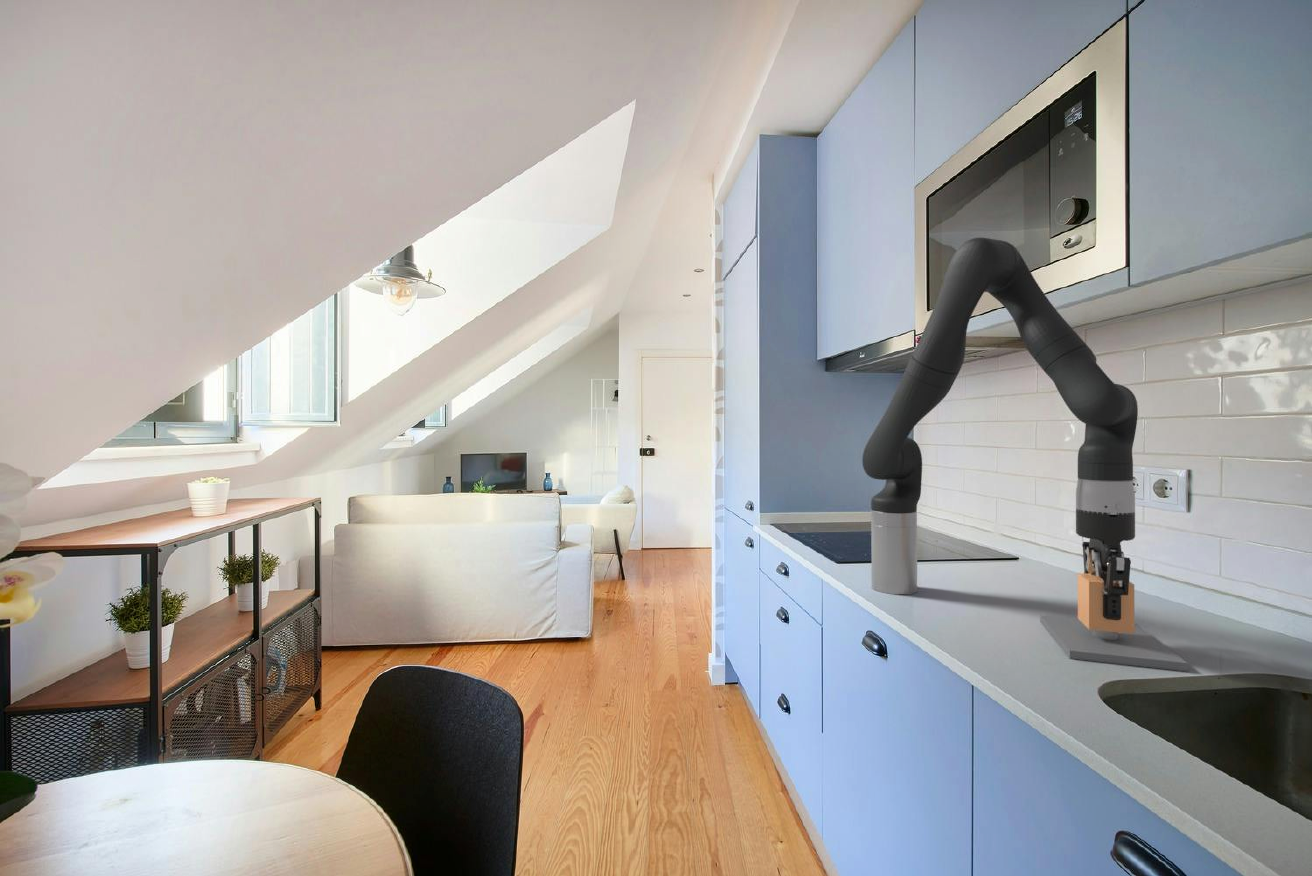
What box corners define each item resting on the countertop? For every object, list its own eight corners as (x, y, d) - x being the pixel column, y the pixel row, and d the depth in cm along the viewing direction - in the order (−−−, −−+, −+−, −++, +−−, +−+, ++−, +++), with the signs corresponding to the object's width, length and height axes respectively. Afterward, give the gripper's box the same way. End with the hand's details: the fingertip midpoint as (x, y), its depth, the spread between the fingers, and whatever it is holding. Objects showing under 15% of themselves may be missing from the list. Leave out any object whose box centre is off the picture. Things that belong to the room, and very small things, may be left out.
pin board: (1040, 621, 104) (1040, 581, 104) (1136, 630, 99) (1136, 588, 99) (1069, 658, 88) (1069, 610, 88) (1187, 671, 83) (1187, 620, 82)
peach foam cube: (1077, 618, 97) (1077, 573, 97) (1120, 622, 95) (1120, 575, 95) (1089, 629, 92) (1088, 581, 92) (1134, 633, 90) (1134, 584, 90)
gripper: (1064, 501, 101) (1064, 599, 102) (1091, 512, 88) (1091, 625, 88) (1116, 503, 99) (1117, 603, 99) (1153, 515, 85) (1153, 630, 85)
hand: (1105, 613), depth 93 cm, fingers closed on peach foam cube, 5 cm apart
